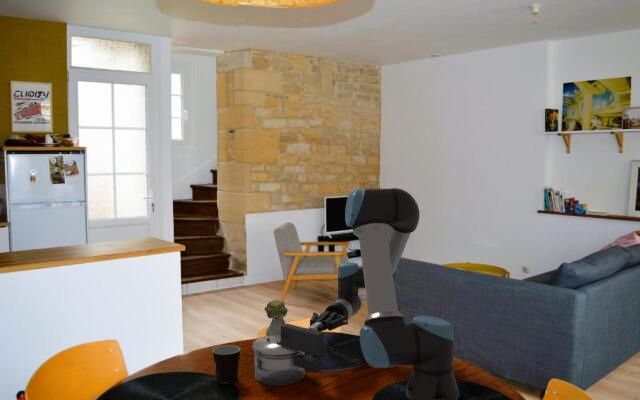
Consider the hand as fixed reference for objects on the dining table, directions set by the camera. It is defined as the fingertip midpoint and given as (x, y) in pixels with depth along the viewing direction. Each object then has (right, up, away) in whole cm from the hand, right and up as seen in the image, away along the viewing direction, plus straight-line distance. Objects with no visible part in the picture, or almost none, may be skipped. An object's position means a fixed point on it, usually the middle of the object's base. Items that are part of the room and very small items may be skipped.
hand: (311, 332), depth 182 cm
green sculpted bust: (-13, -14, +31) cm, 36 cm away
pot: (-8, -16, +5) cm, 18 cm away
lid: (-7, -6, +4) cm, 10 cm away
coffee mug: (-26, -16, +4) cm, 31 cm away
